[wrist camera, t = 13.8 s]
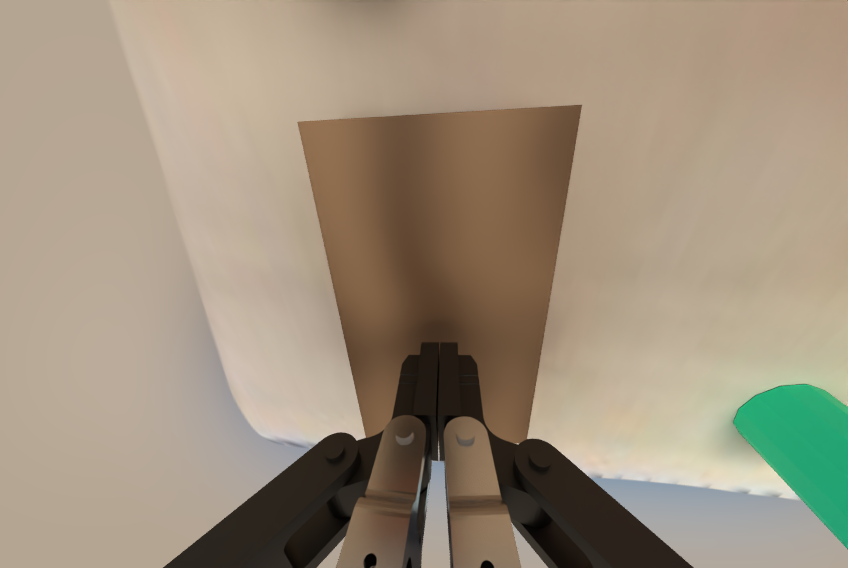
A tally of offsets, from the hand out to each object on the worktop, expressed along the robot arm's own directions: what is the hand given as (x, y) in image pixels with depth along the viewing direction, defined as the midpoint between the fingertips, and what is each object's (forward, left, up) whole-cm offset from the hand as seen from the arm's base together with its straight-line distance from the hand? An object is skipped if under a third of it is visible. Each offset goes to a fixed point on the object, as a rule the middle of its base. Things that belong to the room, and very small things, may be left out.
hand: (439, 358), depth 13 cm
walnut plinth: (0, 0, -8) cm, 8 cm away
